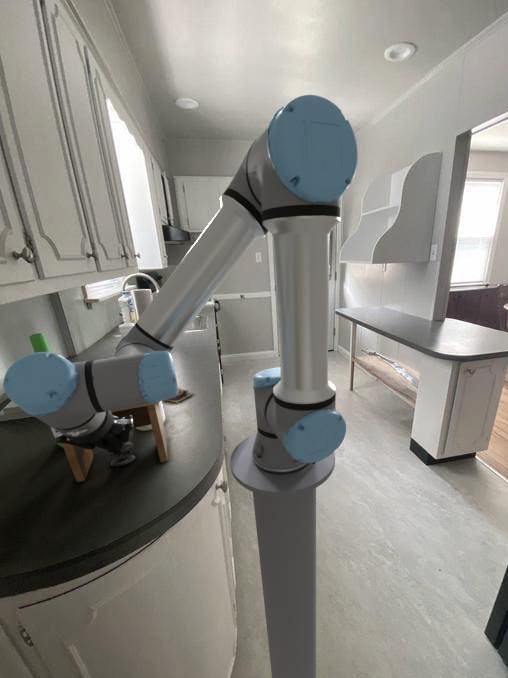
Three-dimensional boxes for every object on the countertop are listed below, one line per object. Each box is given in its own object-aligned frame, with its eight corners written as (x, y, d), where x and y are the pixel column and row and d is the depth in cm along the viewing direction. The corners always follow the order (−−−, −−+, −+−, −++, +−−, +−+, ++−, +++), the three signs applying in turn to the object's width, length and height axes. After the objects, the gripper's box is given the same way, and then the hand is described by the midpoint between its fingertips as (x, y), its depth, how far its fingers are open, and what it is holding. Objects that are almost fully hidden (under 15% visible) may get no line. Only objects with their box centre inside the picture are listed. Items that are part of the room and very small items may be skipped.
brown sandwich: (194, 395, 110) (193, 385, 109) (176, 404, 103) (174, 394, 102) (173, 390, 115) (172, 381, 113) (155, 398, 108) (153, 389, 106)
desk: (172, 460, 74) (157, 397, 68) (71, 483, 67) (45, 416, 61) (170, 439, 83) (158, 382, 76) (82, 458, 76) (59, 397, 70)
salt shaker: (138, 452, 78) (128, 408, 74) (133, 464, 72) (122, 417, 69) (113, 457, 76) (102, 412, 73) (106, 469, 71) (93, 421, 68)
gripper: (32, 447, 46) (86, 470, 67) (127, 429, 51) (150, 456, 72) (33, 402, 49) (84, 438, 70) (123, 388, 53) (146, 426, 74)
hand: (117, 447), depth 71 cm, fingers closed
